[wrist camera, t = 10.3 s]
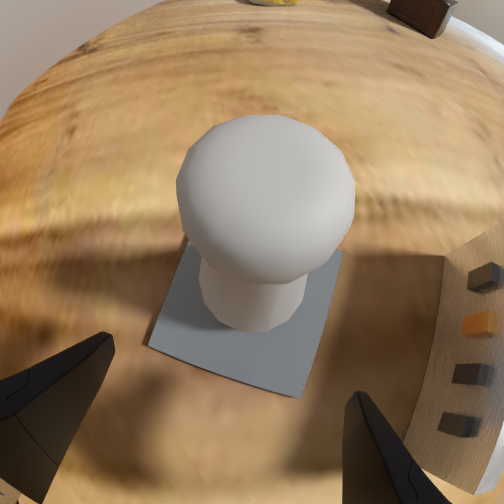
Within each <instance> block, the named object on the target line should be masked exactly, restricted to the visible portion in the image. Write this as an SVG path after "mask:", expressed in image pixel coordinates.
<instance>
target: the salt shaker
mask: <svg viewBox="0 0 504 504" xmlns="http://www.w3.org/2000/svg"><path fill="white" fill-rule="evenodd" d="M176 193H177V200H178V206H179V212H180V217H181V223H182V228H183V231H184V233H185V234H186V236H187V237H188V239H189V240H190V241H191V243H192V244H193V245H194V247H195V248H196V249H197V250H198V252H199V253H200V254H201V256H202V259H201V266H200V273H199V283H200V287H201V291H202V296H203V300H204V303H205V304H206V306H207V307H208V308H209V309H210V311H211V312H212V313H213V315H214V316H215V317H216V318H217V320H218V321H219V322H221V323H223V324H226V325H228V326H230V327H232V328H234V329H236V330H239V331H241V332H263V331H268V330H270V329H272V328H274V327H276V326H278V325H280V324H282V323H284V322H286V321H287V320H289V318H290V317H291V316H292V314H293V313H294V312H295V310H296V309H297V308H298V306H299V305H300V303H301V302H302V301H303V296H304V291H305V285H306V280H307V275H308V273H309V272H311V271H313V270H315V269H316V268H318V267H320V266H321V265H323V264H324V263H325V262H326V261H327V260H329V258H330V257H331V255H332V254H333V252H334V251H335V249H336V248H337V246H338V245H339V243H340V242H341V240H342V239H343V237H344V236H345V234H346V233H347V231H348V230H349V228H350V225H351V223H352V220H353V217H354V205H355V180H354V178H353V176H352V173H351V171H350V169H349V167H348V165H347V162H346V160H345V158H344V156H343V154H342V152H341V150H340V149H338V148H337V147H336V146H335V145H334V144H333V143H332V142H330V141H329V140H328V139H327V138H326V137H325V136H323V135H322V134H321V133H320V132H319V131H318V130H316V129H315V128H313V127H311V126H309V125H306V124H303V123H301V122H298V121H296V120H293V119H290V118H288V117H285V116H282V115H245V116H242V117H239V118H236V119H233V120H230V121H227V122H224V123H221V124H219V125H216V126H213V127H212V128H211V129H210V130H209V131H208V132H207V133H205V134H204V135H203V136H202V137H201V138H200V139H199V140H198V141H197V142H196V143H195V144H193V145H192V146H191V147H190V148H189V149H188V152H187V154H186V157H185V159H184V161H183V164H182V166H181V169H180V171H179V174H178V176H177V179H176Z"/></svg>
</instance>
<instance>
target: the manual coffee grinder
mask: <svg viewBox="0 0 504 504" xmlns="http://www.w3.org/2000/svg"><path fill="white" fill-rule="evenodd" d="M456 5H457V2H456V1H455V0H391V1H390V4H389V7H388V9H387V12H388V13H390V14H391V15H393V16H394V17H396V18H397V19H399V20H401V21H403V22H404V23H406V24H408V25H409V26H411V27H413V28H414V29H416V30H418V31H419V32H421V33H423V34H424V35H426V36H428V37H429V38H431V39H435V38H437V37H438V36H440V35H441V34H442V33H443V32H444V29H445V27H446V25H447V23H448V21H449V19H450V17H451V15H452V13H453V11H454V9H455V7H456Z"/></svg>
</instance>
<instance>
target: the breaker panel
mask: <svg viewBox="0 0 504 504" xmlns="http://www.w3.org/2000/svg"><path fill="white" fill-rule="evenodd" d="M403 444H404V445H405V447H406V448H407V450H408V451H409V453H410V454H411V455H412V457H413V459H415V461H416V462H417V464H418V465H419V467H420V468H421V469H423V470H425V471H427V472H429V473H431V474H432V475H434V476H436V477H438V478H440V479H442V480H444V481H446V482H448V483H450V484H452V485H454V486H456V487H458V488H460V489H462V490H464V491H466V492H468V493H470V494H472V495H477V494H481V493H485V492H488V491H492V490H494V489H495V487H496V485H497V483H498V481H499V479H500V477H501V474H502V472H503V470H504V220H503V221H502V222H500V223H498V224H497V225H495V226H494V227H492V228H490V229H489V230H487V231H486V232H484V233H482V234H481V235H479V236H477V237H476V238H474V239H472V240H471V241H469V242H467V243H466V244H464V245H462V246H460V247H459V248H457V249H455V250H453V251H452V252H450V253H448V254H446V255H445V256H444V267H443V277H442V287H441V295H440V302H439V309H438V315H437V321H436V327H435V332H434V338H433V343H432V347H431V352H430V356H429V361H428V365H427V369H426V373H425V376H424V380H423V384H422V387H421V391H420V394H419V398H418V401H417V404H416V407H415V410H414V413H413V416H412V419H411V422H410V425H409V428H408V430H407V433H406V436H405V438H404V441H403Z"/></svg>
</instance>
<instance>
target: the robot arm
mask: <svg viewBox="0 0 504 504" xmlns="http://www.w3.org/2000/svg"><path fill="white" fill-rule="evenodd" d="M114 354H115V346H114V340H113V336H112V334H109V333H107V332H104V331H102V332H99V333H97V334H95V335H93V336H91V337H89V338H87V339H85V340H83V341H81V342H79V343H77V344H75V345H73V346H71V347H70V348H68V349H66V350H64V351H62V352H60V353H58V354H56V355H54V356H52V357H50V358H48V359H46V360H44V361H42V362H40V363H38V364H36V365H34V366H32V367H31V368H27V369H25V370H23V371H21V372H19V373H17V374H15V375H13V376H10V377H8V378H5V379H3V380H0V504H19V502H18V499H19V497H20V495H21V493H22V494H24V495H25V496H27V497H28V498H30V499H32V500H33V501H35V502H36V503H38V504H42V503H43V501H44V499H45V496H46V494H47V492H48V490H49V488H50V485H51V483H52V481H53V479H54V477H55V475H56V472H57V470H58V468H59V466H60V464H61V462H62V460H63V458H64V455H65V453H66V451H67V449H68V447H69V445H70V443H71V442H72V440H73V438H74V436H75V434H76V432H77V430H78V428H79V426H80V424H81V422H82V420H83V418H84V417H85V415H86V413H87V411H88V409H89V407H90V405H91V404H92V402H93V400H94V398H95V396H96V395H97V393H98V391H99V389H100V387H101V385H102V383H103V380H104V378H105V376H106V373H107V371H108V368H109V366H110V364H111V361H112V359H113V357H114ZM342 461H343V490H342V504H452V503H451V502H450V501H449V500H448V499H447V498H446V497H445V496H444V495H443V494H442V493H441V492H440V491H439V489H438V488H437V487H436V486H435V485H434V484H433V483H432V482H431V480H430V479H429V478H428V477H427V476H426V474H425V473H424V472H423V471H422V469H421V468H420V467H419V465H418V464H417V462H416V461H415V459H413V457H412V455H411V454H410V453H409V451H408V450H407V448H406V447H405V445H404V444H403V443H402V441H401V440H400V438H399V437H398V436H397V434H396V433H395V431H394V430H393V429H392V427H391V426H390V424H389V423H388V422H387V420H386V419H385V417H384V416H383V415H382V413H381V412H380V410H379V409H378V408H377V406H376V405H375V403H374V402H373V401H372V399H371V398H370V396H369V395H368V394H367V393H366V392H363V391H356V392H354V394H353V395H352V397H351V398H350V399H349V401H348V402H347V404H346V407H345V417H344V429H343V441H342Z"/></svg>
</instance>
